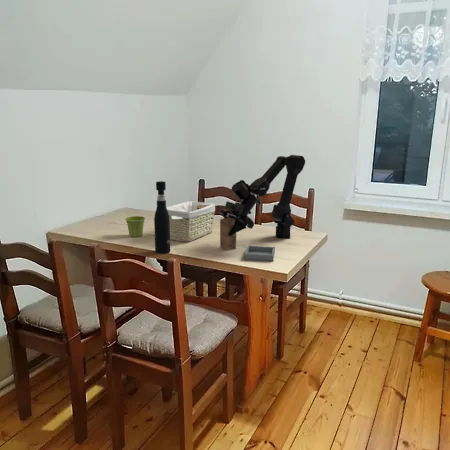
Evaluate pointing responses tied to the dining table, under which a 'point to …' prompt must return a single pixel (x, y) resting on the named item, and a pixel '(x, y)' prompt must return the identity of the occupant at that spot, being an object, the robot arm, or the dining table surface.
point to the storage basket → (190, 220)
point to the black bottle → (161, 222)
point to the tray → (260, 253)
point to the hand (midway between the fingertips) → (225, 233)
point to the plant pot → (135, 225)
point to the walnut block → (227, 234)
